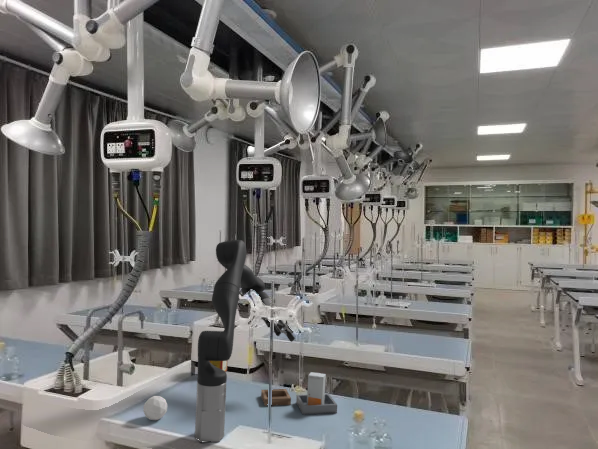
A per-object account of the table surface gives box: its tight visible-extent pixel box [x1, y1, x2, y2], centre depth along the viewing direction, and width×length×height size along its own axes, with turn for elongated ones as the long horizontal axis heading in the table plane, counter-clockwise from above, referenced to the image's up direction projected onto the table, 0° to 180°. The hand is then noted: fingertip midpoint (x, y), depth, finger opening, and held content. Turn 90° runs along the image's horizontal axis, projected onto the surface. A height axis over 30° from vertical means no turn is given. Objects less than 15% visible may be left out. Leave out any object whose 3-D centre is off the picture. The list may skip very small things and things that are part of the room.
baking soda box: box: [210, 360, 229, 373], centre depth 204 cm, size 10×6×16 cm
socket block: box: [260, 388, 292, 407], centre depth 175 cm, size 10×10×2 cm
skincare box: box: [306, 371, 327, 405], centre depth 169 cm, size 6×4×12 cm
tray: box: [295, 393, 338, 416], centre depth 169 cm, size 11×13×3 cm
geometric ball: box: [142, 395, 168, 421], centre depth 153 cm, size 8×8×8 cm
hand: (286, 337), depth 176 cm, fingers open, 8 cm apart
